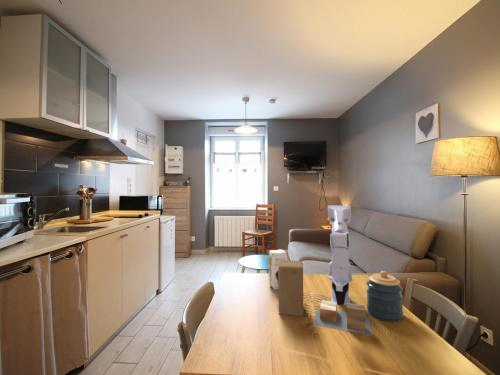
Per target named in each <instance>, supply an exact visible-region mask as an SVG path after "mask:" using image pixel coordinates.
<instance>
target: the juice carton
mask: <svg viewBox="0 0 500 375" xmlns="http://www.w3.org/2000/svg"><path fill="white" fill-rule="evenodd" d="M268 252H269V254H268V283H269V286H270V287H271V288H272V289H273V290H274V291H276V290H277V291H278V267H279V263H280V261H281V260H288V254H287V251H285V250H283V249H280V248H279V249H276V250H275V249H271V250H269V251H268Z"/></svg>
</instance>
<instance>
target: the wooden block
mask: <svg viewBox="0 0 500 375" xmlns="http://www.w3.org/2000/svg"><path fill="white" fill-rule="evenodd" d="M277 291H278V295H277V296H278V314H279V315H284V316H290V317H291V316H292V317H303V316H304V263H303V261H301V260H288V259H287V260H281V261H280V263H279V267H278V290H277Z"/></svg>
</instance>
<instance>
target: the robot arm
mask: <svg viewBox="0 0 500 375" xmlns="http://www.w3.org/2000/svg"><path fill="white" fill-rule="evenodd" d="M327 219H328V222H329V223H331V233H330V234H329V244H330V253H331V261H330V262H329V264H328V280H329V281H331V299H330V301H332V302H337V305H339V306H347V303H351V296H350V290H349V289H350V283H351V282H352V281H353V274H352V273H353V272H352V270H353V269H352V265H351V263H350V262H349V258H350V257H349V255H350V254H349V248H350V247H351V246H350V245H351V239H350V233H349V231H348V224H350V222H351V220H352V207H351V205H350V204H349V205H331V204H329V205H328V206H327Z"/></svg>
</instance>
